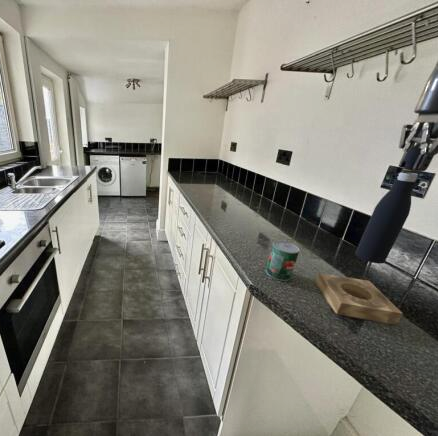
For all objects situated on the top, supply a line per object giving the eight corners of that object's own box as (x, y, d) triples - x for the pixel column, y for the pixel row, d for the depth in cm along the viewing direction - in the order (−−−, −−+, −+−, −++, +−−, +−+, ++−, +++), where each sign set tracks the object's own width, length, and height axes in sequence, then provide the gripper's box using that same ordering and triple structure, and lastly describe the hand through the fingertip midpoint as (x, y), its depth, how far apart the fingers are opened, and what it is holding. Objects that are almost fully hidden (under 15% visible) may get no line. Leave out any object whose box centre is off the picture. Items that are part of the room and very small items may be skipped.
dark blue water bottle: (389, 266, 62) (449, 150, 51) (360, 260, 64) (412, 148, 53) (377, 254, 68) (429, 148, 56) (351, 249, 70) (395, 146, 58)
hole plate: (364, 290, 74) (369, 280, 72) (396, 324, 61) (403, 313, 60) (315, 283, 77) (319, 273, 75) (336, 314, 64) (341, 302, 63)
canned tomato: (290, 284, 76) (300, 255, 72) (264, 276, 79) (272, 248, 75) (290, 271, 82) (299, 244, 78) (266, 265, 86) (273, 238, 82)
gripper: (510, 83, 42) (458, 176, 49) (440, 93, 55) (407, 165, 62) (458, 83, 44) (415, 173, 51) (403, 93, 57) (374, 163, 63)
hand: (411, 168), depth 56 cm, fingers closed on dark blue water bottle, 4 cm apart
